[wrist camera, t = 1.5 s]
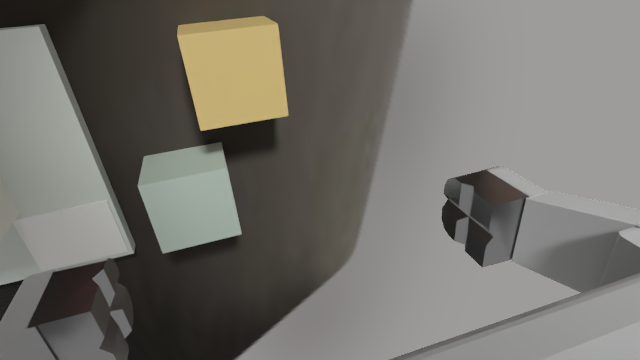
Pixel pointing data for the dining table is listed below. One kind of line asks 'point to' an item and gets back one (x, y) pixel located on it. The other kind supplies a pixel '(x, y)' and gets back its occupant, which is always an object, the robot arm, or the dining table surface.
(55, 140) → the build board
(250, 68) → the ochre brick
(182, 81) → the dining table surface
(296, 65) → the dining table surface
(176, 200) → the sage brick
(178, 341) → the dining table surface
